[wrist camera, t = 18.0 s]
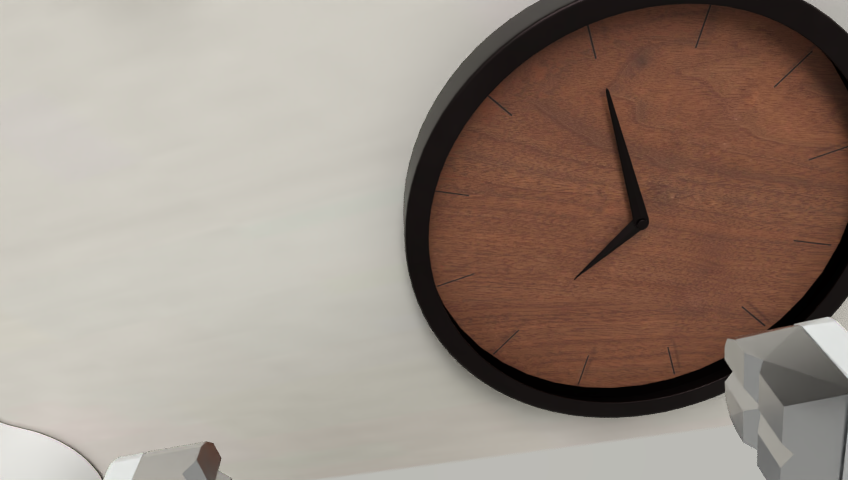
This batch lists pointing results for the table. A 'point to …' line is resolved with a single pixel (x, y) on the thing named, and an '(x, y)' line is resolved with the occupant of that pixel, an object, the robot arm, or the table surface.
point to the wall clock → (631, 197)
